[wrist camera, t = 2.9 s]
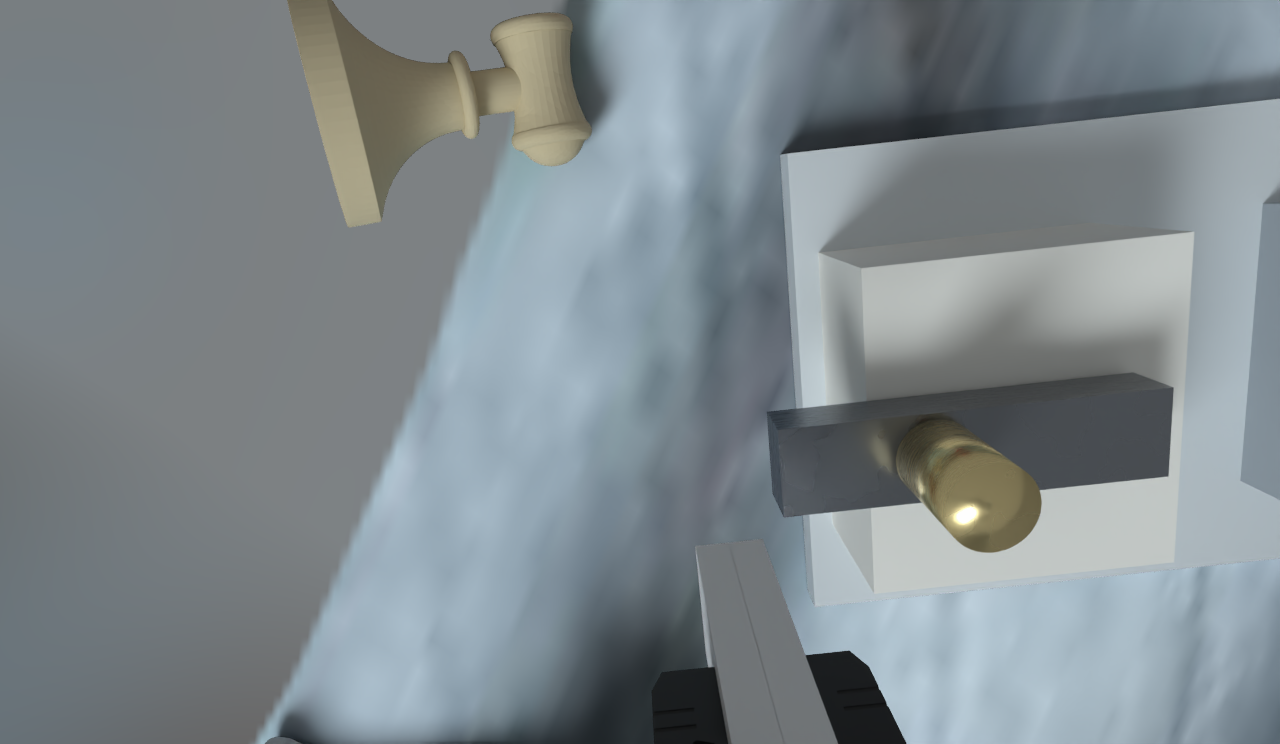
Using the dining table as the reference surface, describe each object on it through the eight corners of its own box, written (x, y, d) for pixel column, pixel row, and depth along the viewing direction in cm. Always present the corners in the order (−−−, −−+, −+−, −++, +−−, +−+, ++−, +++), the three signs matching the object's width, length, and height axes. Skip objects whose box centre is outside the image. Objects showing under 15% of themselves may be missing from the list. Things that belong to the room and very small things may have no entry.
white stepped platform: (1444, 523, 36) (1833, 685, 25) (807, 590, 37) (891, 781, 25) (1512, 73, 32) (2033, 8, 20) (780, 154, 32) (868, 138, 20)
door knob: (588, -69, 26) (630, 176, 28) (539, -2, 33) (575, 187, 35) (274, -42, 23) (344, 227, 25) (298, 24, 30) (351, 227, 32)
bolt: (1129, 455, 27) (1267, 530, 21) (772, 493, 27) (812, 578, 21) (1133, 372, 26) (1276, 426, 21) (766, 411, 26) (806, 476, 21)
